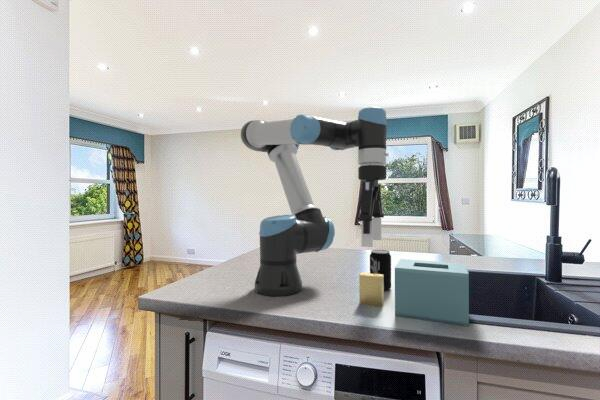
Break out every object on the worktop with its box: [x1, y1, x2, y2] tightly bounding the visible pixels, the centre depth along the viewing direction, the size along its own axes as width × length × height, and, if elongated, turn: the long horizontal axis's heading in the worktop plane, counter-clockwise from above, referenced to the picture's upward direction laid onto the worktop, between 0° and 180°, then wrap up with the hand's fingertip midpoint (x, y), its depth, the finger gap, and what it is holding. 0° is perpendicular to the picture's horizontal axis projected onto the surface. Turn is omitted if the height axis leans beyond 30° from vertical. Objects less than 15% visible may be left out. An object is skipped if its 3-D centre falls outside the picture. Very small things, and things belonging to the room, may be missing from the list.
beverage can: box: [369, 249, 392, 292], centre depth 99 cm, size 7×7×12 cm
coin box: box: [394, 258, 470, 327], centre depth 78 cm, size 16×12×12 cm
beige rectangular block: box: [358, 272, 385, 308], centre depth 85 cm, size 6×3×8 cm, turn 66°
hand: (372, 243), depth 85 cm, fingers open, 13 cm apart
